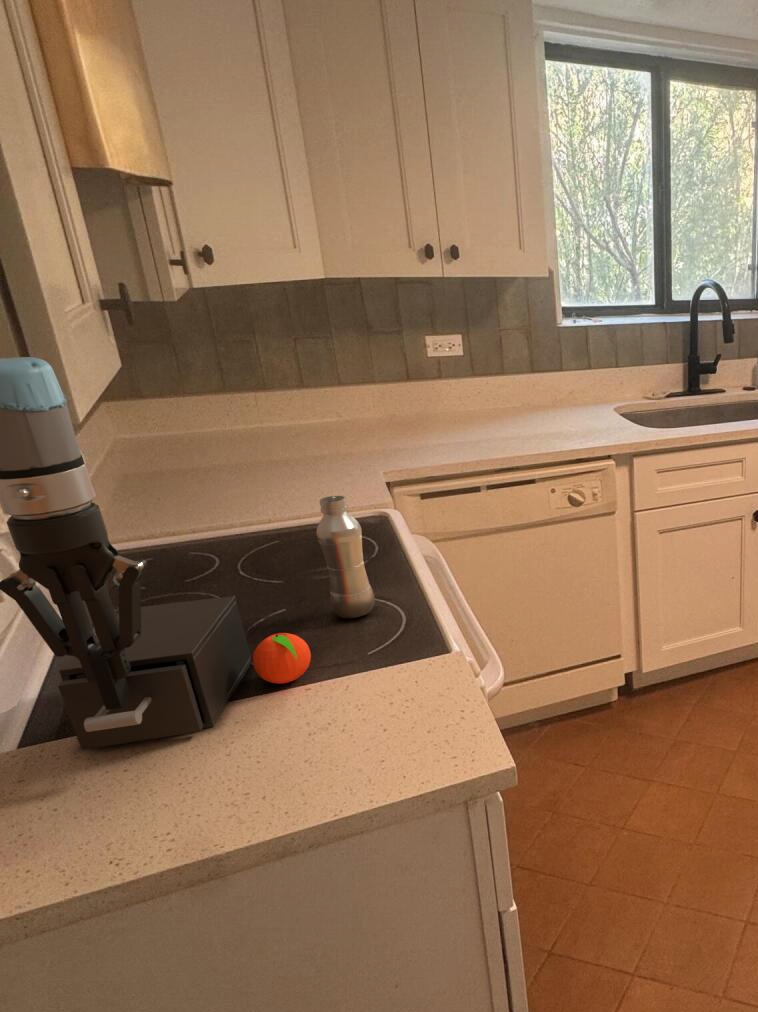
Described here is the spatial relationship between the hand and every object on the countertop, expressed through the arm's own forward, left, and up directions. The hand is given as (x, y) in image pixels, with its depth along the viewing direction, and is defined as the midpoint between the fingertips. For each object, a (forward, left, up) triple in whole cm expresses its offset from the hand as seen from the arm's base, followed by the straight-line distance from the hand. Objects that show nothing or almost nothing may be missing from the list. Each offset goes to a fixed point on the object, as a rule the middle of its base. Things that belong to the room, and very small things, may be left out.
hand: (118, 702), depth 90 cm
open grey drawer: (-7, +4, -7) cm, 11 cm away
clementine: (-6, +19, -8) cm, 21 cm away
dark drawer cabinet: (-12, +7, -8) cm, 15 cm away
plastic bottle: (-21, +34, -8) cm, 40 cm away
